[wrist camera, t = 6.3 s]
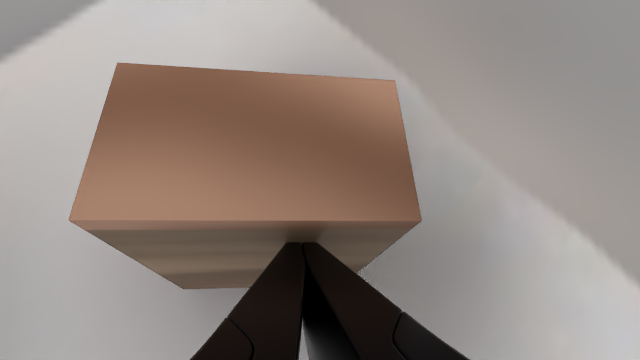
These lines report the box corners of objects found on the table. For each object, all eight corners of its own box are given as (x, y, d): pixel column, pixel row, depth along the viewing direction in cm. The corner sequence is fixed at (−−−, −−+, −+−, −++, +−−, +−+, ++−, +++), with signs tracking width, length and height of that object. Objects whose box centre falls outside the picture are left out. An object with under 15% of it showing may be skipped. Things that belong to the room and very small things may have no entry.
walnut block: (341, 284, 15) (421, 220, 7) (183, 288, 14) (68, 219, 6) (336, 204, 17) (395, 80, 9) (195, 203, 16) (117, 62, 8)
